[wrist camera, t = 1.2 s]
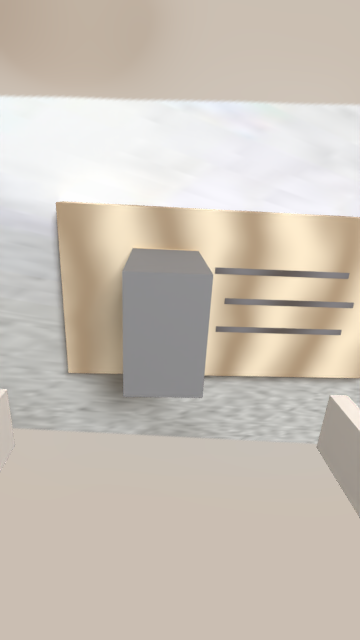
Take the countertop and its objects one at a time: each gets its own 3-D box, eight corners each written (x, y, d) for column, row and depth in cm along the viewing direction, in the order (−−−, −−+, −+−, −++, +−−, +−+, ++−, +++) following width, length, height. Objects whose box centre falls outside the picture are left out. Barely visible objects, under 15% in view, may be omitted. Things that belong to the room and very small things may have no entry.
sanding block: (191, 344, 29) (202, 397, 22) (132, 342, 29) (123, 396, 21) (198, 250, 26) (213, 274, 19) (133, 247, 26) (122, 271, 18)
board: (74, 361, 31) (68, 373, 29) (63, 201, 26) (55, 202, 24) (364, 367, 33) (377, 378, 31) (406, 219, 28) (424, 221, 26)
